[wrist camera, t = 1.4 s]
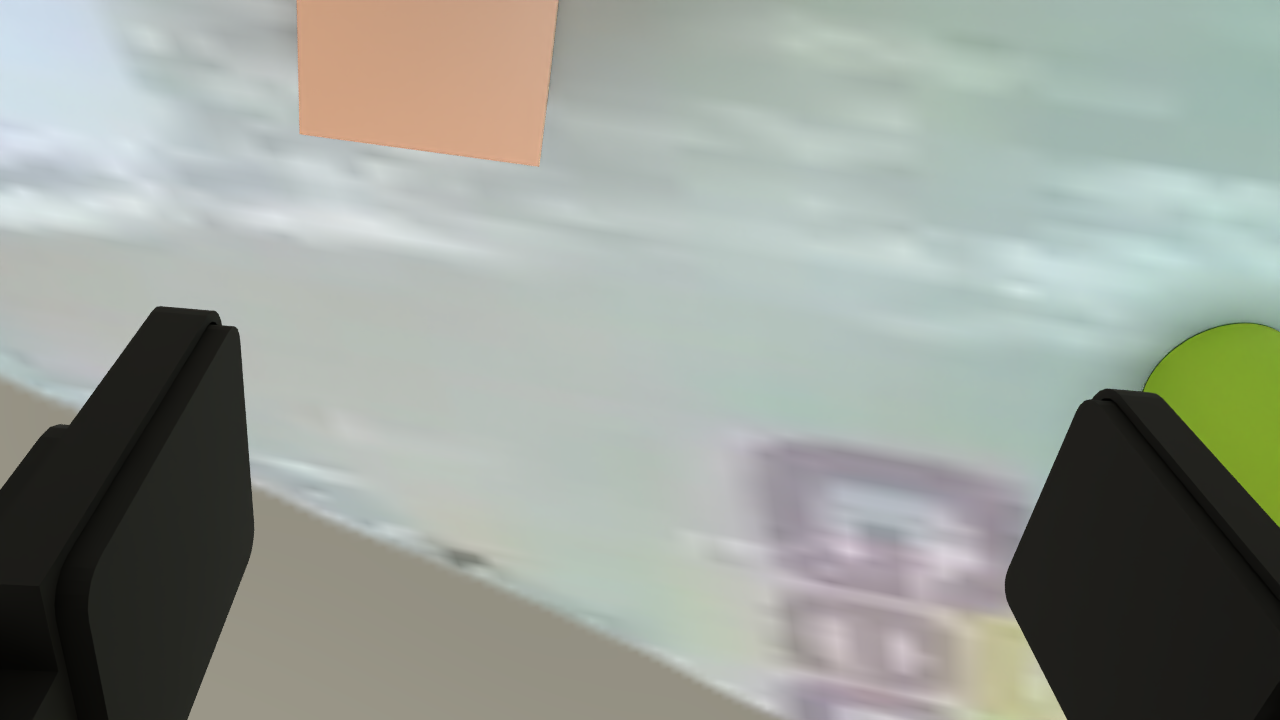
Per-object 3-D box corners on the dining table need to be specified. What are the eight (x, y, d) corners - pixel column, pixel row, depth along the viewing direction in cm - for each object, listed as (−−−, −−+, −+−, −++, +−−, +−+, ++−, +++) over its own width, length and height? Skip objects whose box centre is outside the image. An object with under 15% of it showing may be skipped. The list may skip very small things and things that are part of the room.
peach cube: (339, -153, 28) (293, -127, 24) (571, -114, 29) (566, -83, 24) (339, 76, 31) (299, 133, 27) (547, 105, 32) (539, 166, 28)
